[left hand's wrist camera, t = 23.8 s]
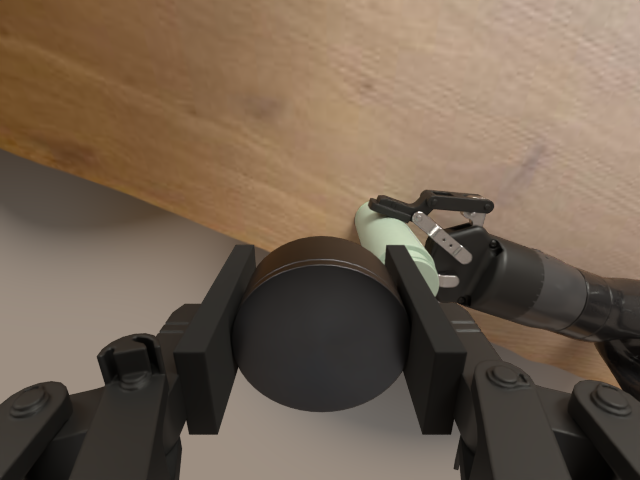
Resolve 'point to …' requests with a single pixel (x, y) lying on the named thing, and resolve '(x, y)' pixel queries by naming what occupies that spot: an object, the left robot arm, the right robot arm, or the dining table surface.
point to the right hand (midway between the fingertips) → (359, 230)
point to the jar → (394, 241)
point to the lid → (321, 326)
